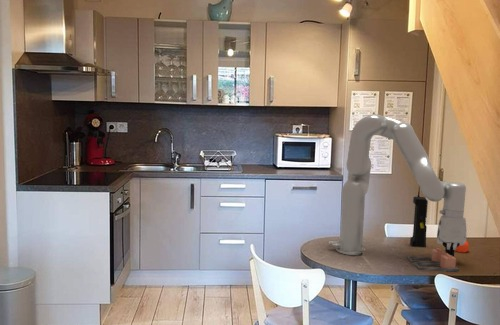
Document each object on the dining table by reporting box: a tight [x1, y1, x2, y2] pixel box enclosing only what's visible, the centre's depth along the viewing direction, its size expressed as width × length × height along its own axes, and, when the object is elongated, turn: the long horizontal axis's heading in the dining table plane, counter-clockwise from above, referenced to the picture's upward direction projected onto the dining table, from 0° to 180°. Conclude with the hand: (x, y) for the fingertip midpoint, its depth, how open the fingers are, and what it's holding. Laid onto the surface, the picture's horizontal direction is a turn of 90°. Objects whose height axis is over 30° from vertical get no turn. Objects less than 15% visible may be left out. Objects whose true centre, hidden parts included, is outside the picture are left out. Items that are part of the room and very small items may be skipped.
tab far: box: [430, 247, 446, 261], centre depth 181 cm, size 4×4×5 cm
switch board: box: [406, 255, 460, 273], centre depth 178 cm, size 24×17×2 cm
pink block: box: [439, 253, 457, 268], centre depth 173 cm, size 4×4×5 cm
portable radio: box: [409, 191, 429, 248], centre depth 204 cm, size 8×6×25 cm
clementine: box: [454, 240, 470, 254], centre depth 197 cm, size 8×7×7 cm
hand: (449, 258), depth 181 cm, fingers closed
